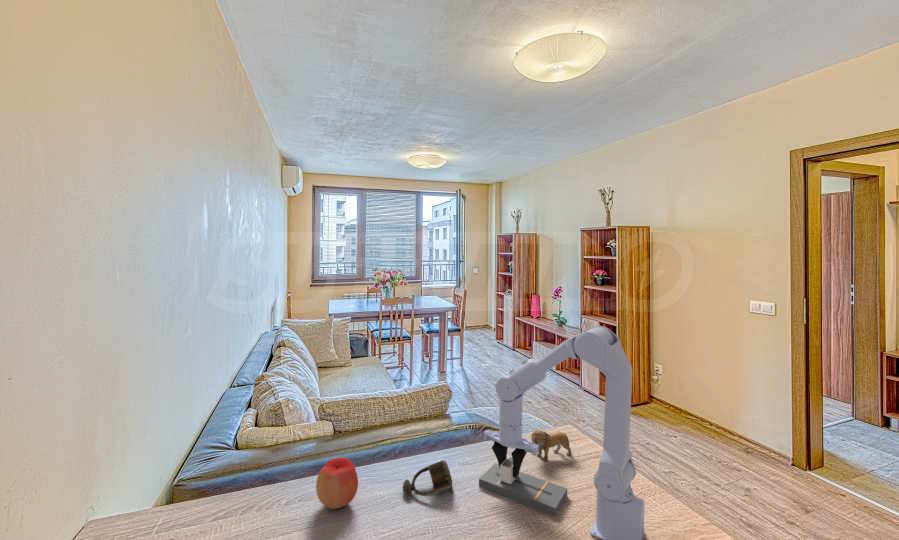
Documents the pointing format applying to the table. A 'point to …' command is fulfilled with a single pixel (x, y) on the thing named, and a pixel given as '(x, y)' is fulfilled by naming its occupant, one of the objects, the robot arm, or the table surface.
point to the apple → (337, 483)
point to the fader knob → (507, 471)
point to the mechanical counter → (439, 480)
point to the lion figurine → (550, 442)
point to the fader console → (526, 490)
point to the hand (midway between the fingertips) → (509, 473)
